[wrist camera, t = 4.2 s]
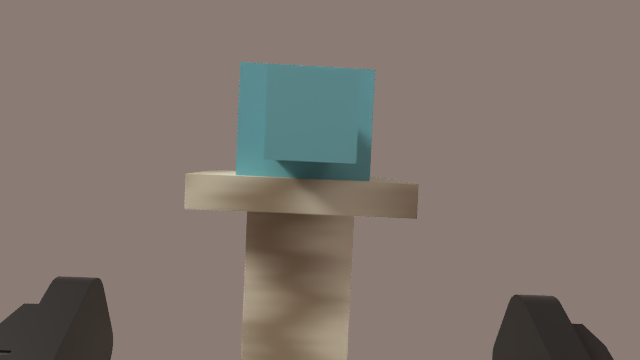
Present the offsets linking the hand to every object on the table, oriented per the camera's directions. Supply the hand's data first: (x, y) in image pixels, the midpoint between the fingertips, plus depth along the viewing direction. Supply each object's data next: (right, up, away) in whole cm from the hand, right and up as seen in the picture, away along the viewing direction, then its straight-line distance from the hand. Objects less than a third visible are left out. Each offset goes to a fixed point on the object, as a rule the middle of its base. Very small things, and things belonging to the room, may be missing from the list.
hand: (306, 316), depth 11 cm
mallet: (0, +3, +13) cm, 13 cm away
